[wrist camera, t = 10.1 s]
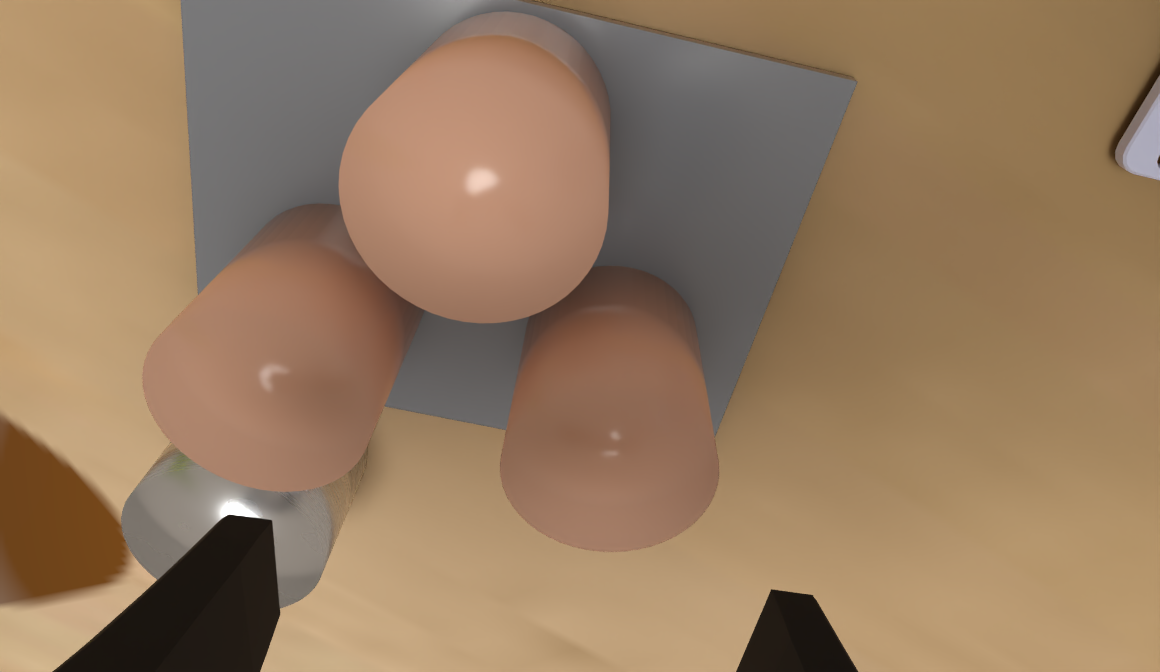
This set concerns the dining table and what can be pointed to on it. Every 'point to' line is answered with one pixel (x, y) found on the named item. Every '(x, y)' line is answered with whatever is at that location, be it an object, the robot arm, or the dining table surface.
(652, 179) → the slate board
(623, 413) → the salmon capsule cylinder
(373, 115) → the rounded peach cylinder
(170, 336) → the peach domed cylinder
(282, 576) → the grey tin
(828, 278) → the dining table surface
